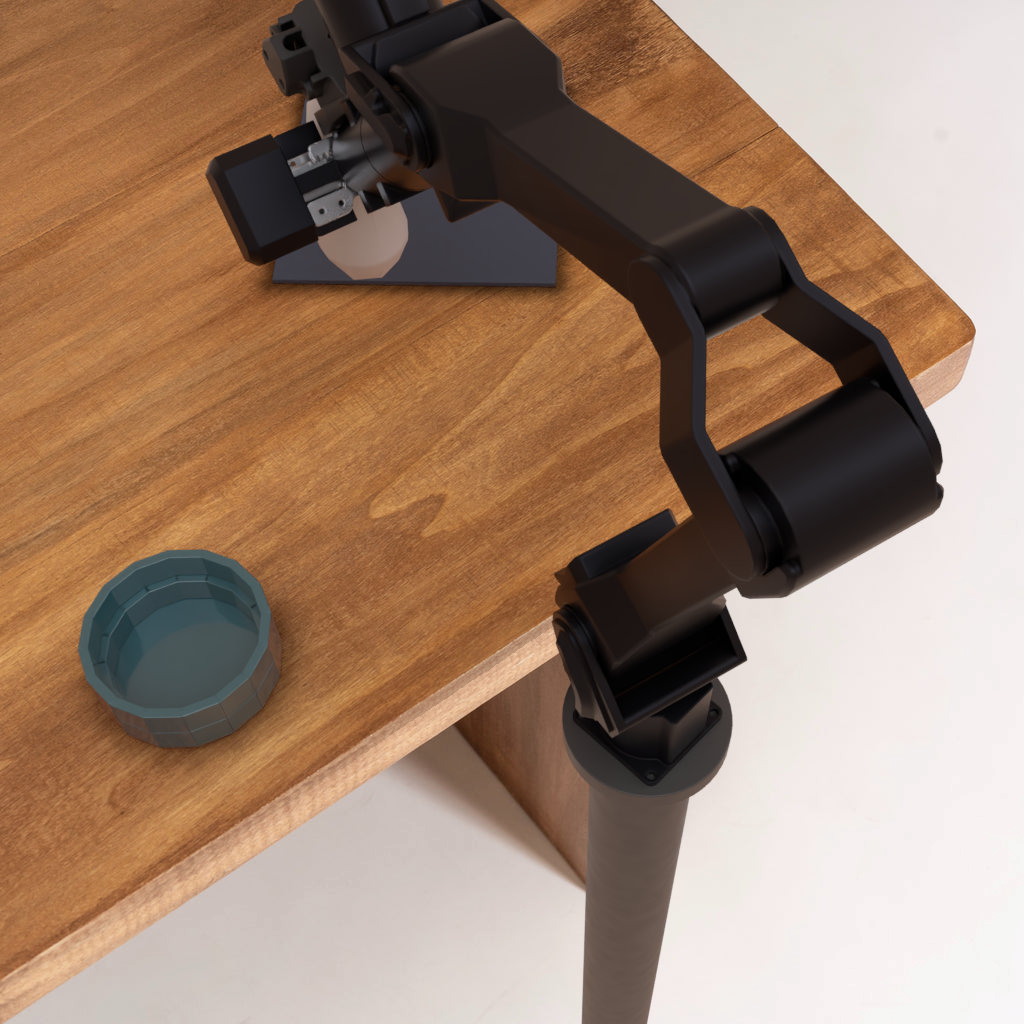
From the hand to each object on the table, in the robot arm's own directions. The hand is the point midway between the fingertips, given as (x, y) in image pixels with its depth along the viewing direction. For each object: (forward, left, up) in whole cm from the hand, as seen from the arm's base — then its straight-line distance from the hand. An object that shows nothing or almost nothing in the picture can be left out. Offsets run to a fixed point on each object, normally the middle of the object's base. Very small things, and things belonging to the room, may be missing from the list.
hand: (345, 168), depth 88 cm
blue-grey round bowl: (-13, +26, -14) cm, 32 cm away
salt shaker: (-1, 0, -7) cm, 7 cm away
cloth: (+6, -11, -14) cm, 19 cm away
